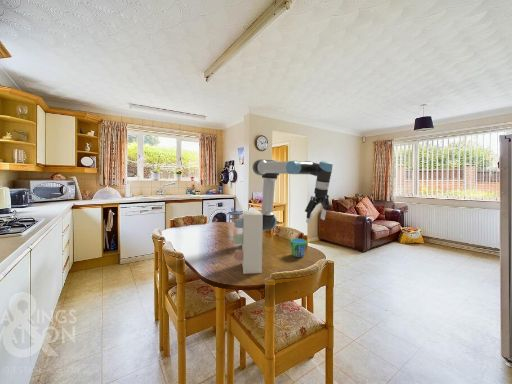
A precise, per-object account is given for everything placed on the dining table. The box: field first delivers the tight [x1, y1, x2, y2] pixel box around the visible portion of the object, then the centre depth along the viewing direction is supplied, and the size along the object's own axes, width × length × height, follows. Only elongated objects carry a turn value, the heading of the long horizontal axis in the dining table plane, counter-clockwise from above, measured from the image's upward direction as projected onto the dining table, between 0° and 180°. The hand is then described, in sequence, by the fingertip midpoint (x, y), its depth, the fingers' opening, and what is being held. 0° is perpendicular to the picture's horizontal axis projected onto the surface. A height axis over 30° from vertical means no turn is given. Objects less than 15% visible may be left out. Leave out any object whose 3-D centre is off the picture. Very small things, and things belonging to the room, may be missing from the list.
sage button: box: [233, 233, 243, 245], centre depth 126 cm, size 5×4×4 cm
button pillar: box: [241, 210, 263, 275], centre depth 127 cm, size 10×14×32 cm
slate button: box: [233, 218, 243, 229], centre depth 125 cm, size 5×4×4 cm
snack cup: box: [289, 238, 308, 258], centre depth 149 cm, size 16×10×10 cm
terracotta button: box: [233, 249, 243, 261], centre depth 127 cm, size 5×4×4 cm
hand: (315, 221), depth 138 cm, fingers open, 13 cm apart
